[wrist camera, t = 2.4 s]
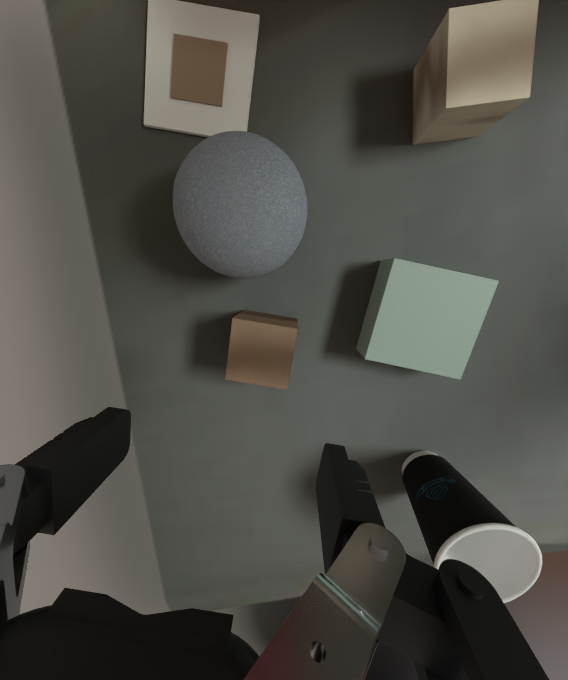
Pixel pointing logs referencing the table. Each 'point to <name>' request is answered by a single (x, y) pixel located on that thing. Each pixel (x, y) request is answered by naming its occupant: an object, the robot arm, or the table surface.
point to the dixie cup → (468, 526)
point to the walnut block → (261, 349)
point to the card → (199, 67)
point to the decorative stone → (240, 204)
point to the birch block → (474, 70)
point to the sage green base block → (424, 317)
